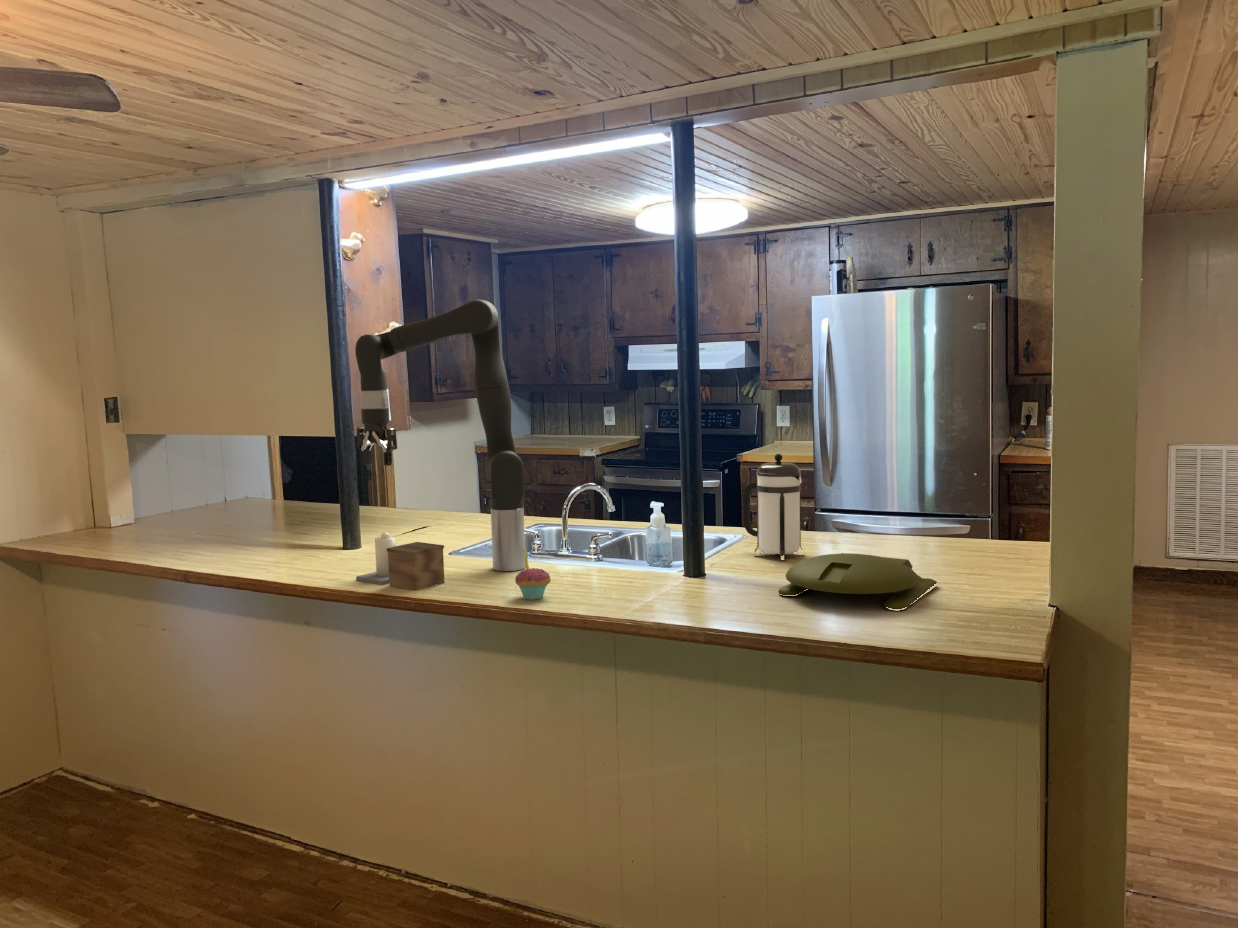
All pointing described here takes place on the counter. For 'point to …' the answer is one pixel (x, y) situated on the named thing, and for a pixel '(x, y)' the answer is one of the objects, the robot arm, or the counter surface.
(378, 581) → the mat
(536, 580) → the cupcake
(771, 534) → the coffee press
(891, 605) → the spaceship
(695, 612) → the counter surface
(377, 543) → the white pillar candle
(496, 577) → the counter surface
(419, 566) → the wooden lidded box
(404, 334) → the robot arm
